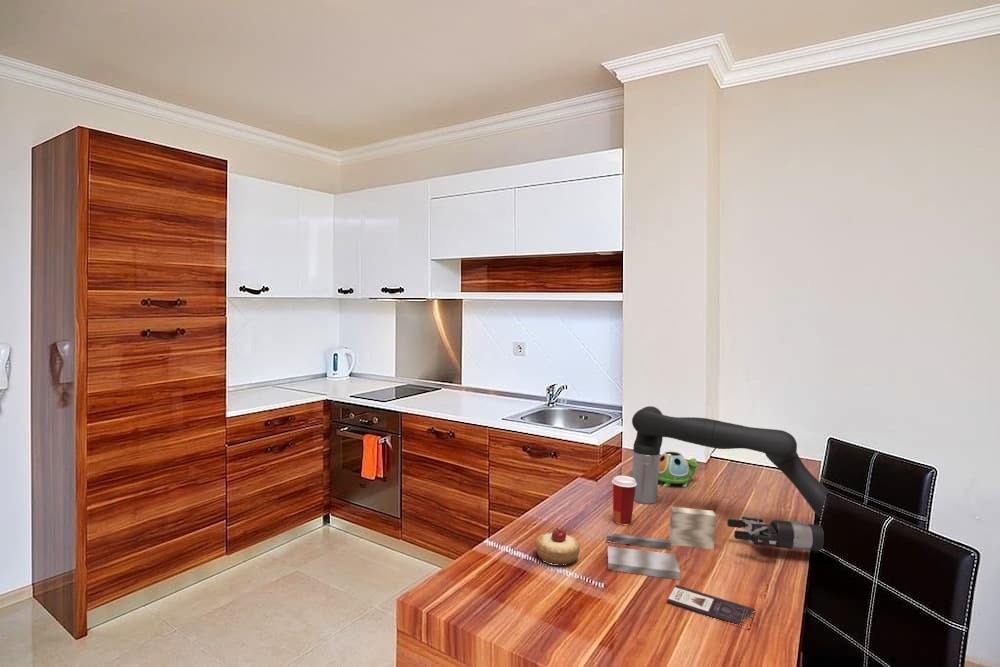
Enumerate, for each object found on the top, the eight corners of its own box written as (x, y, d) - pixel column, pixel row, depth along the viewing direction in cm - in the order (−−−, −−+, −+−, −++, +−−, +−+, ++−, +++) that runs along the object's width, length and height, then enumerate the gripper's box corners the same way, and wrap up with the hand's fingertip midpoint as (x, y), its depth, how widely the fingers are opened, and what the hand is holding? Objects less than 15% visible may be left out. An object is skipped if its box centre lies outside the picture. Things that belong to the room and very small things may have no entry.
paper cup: (636, 520, 177) (639, 477, 176) (631, 528, 170) (634, 484, 169) (612, 515, 181) (615, 473, 180) (606, 523, 174) (609, 480, 173)
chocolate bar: (749, 628, 119) (666, 601, 129) (749, 632, 119) (666, 604, 129) (755, 609, 127) (676, 584, 136) (755, 613, 127) (676, 588, 136)
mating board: (608, 570, 143) (608, 563, 143) (606, 539, 162) (607, 532, 162) (679, 579, 140) (680, 571, 140) (669, 546, 159) (670, 540, 159)
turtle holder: (705, 487, 212) (707, 457, 211) (663, 489, 208) (665, 458, 207) (687, 476, 224) (689, 448, 223) (647, 478, 220) (649, 449, 219)
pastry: (587, 561, 149) (590, 529, 148) (559, 574, 141) (562, 540, 140) (553, 544, 158) (556, 514, 157) (525, 555, 149) (528, 524, 149)
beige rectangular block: (670, 544, 160) (672, 511, 160) (669, 539, 164) (671, 506, 164) (713, 549, 158) (716, 516, 158) (710, 543, 162) (713, 510, 162)
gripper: (783, 512, 163) (726, 506, 166) (801, 532, 149) (738, 525, 152) (781, 537, 164) (724, 530, 166) (798, 559, 150) (736, 551, 152)
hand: (731, 528), depth 159 cm, fingers open, 8 cm apart
